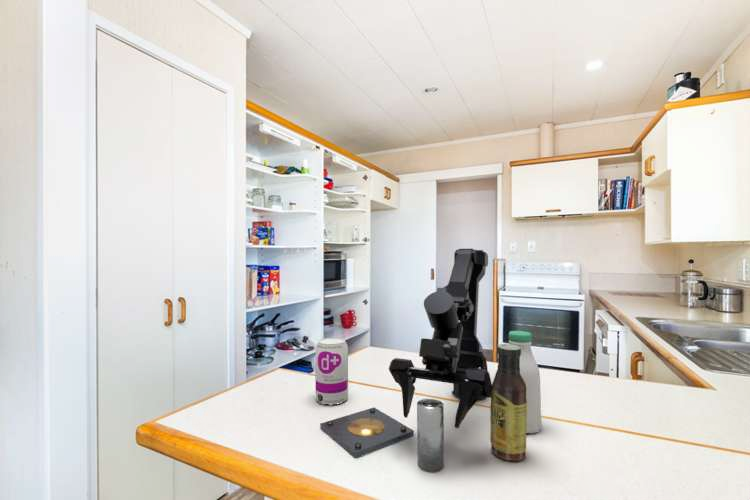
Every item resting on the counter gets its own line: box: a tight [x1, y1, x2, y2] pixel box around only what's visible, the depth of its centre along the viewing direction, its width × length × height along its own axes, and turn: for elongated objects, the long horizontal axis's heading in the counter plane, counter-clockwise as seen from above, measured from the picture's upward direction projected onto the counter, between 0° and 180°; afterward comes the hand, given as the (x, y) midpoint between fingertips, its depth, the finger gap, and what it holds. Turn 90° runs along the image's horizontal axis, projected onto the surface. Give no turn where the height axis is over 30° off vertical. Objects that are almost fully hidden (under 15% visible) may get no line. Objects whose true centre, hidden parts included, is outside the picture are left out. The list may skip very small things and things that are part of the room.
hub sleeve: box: [416, 398, 445, 474], centre depth 62 cm, size 5×5×11 cm
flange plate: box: [319, 407, 415, 459], centre depth 74 cm, size 14×14×1 cm
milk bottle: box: [508, 330, 542, 434], centre depth 76 cm, size 8×8×20 cm
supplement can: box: [315, 337, 349, 405], centre depth 91 cm, size 8×8×15 cm
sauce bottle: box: [489, 343, 527, 462], centre depth 66 cm, size 6×6×20 cm
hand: (429, 421), depth 62 cm, fingers open, 9 cm apart
